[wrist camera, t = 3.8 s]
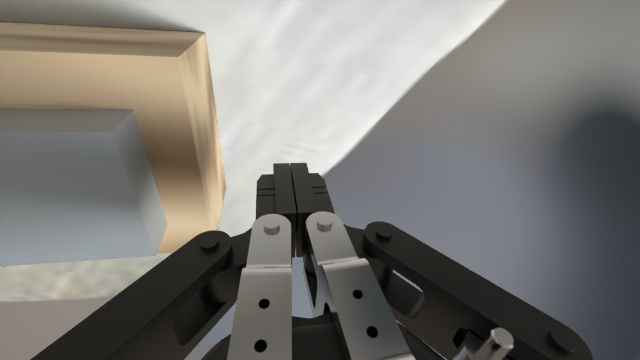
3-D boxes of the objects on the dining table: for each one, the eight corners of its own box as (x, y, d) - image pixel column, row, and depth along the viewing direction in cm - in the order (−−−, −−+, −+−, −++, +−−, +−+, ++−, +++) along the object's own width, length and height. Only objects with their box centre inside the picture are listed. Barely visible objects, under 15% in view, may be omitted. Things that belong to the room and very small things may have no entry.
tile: (-53, 108, 10) (-113, 132, 9) (133, 109, 11) (111, 131, 10) (29, 232, 14) (-3, 266, 12) (167, 224, 15) (155, 255, 13)
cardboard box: (-70, 18, 13) (-263, 40, 8) (205, 32, 15) (178, 57, 10) (33, 193, 19) (-47, 267, 14) (225, 186, 21) (214, 249, 16)
